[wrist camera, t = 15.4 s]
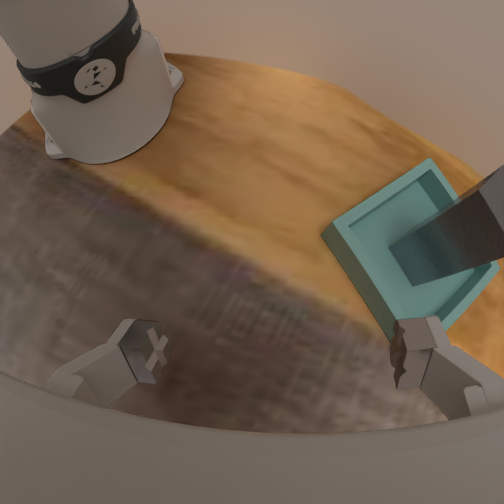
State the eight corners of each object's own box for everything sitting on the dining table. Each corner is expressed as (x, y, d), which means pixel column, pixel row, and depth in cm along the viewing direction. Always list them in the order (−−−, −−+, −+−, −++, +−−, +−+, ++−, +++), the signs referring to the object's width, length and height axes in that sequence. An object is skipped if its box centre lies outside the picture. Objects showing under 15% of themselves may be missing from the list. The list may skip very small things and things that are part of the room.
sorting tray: (320, 235, 30) (331, 221, 26) (413, 173, 32) (430, 157, 28) (398, 355, 27) (418, 357, 23) (478, 275, 29) (500, 268, 26)
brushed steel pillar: (387, 247, 29) (478, 189, 15) (417, 224, 29) (505, 163, 16) (412, 286, 28) (514, 253, 14) (440, 261, 29) (537, 219, 15)
